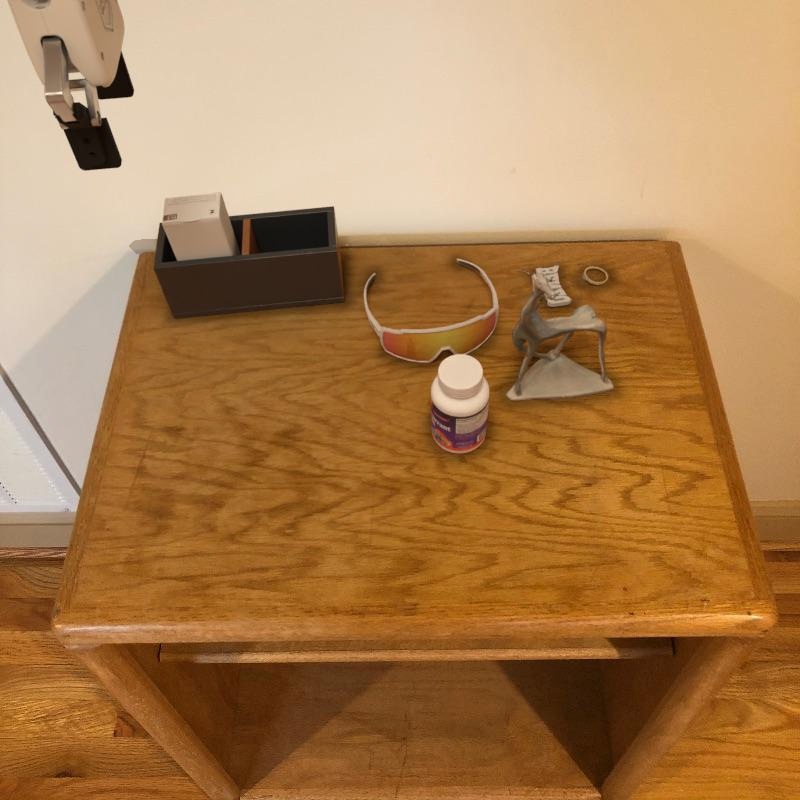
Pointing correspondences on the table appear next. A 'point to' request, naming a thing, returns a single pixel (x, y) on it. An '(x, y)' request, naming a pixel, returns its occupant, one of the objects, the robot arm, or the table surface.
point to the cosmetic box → (199, 227)
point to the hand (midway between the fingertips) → (109, 130)
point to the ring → (594, 281)
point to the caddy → (258, 266)
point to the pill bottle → (459, 404)
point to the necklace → (553, 286)
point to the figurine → (555, 351)
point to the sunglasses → (437, 332)
